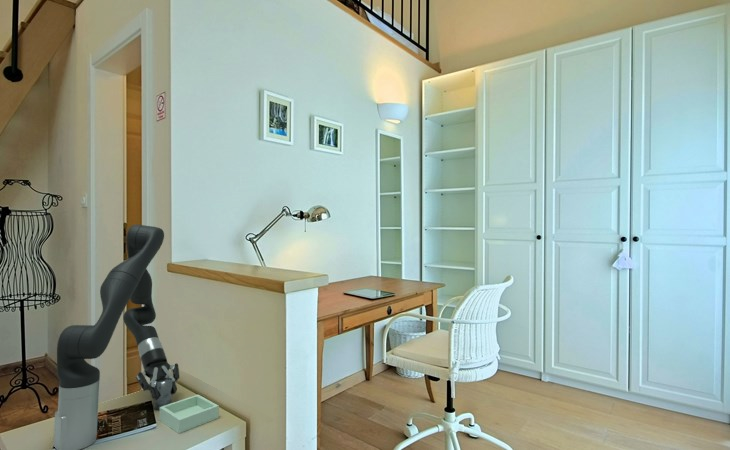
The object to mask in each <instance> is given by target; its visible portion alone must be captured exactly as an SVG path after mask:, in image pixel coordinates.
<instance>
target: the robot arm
mask: <svg viewBox="0 0 730 450" xmlns="http://www.w3.org/2000/svg"><path fill="white" fill-rule="evenodd" d="M164 239H165V232H164V230H163V229H162V228H160V227H157V226H150V225H143V224H132V225H130V227H129V228H128V230H127V232H126V239H125V240H126V251H127V259H126V260H124V261H122V262H120V263H118V264H117V265H116V266H114V267H113V268H112V269H111V270H110V271H109V272H108V274H107V276H106V277H105V278H104V280H103V282H102V284H101V286H100V289H99V295H100V301H101V307H102V310H101V314H100V316H99V317H98V320H97V321H96V323H95V324H94V325H89V324H88V325H87V324H86V325H83V324H82V325H81V324H72V325H69V326H67V327H65V328H64V329H63V330H62V331H61V333H60V334H59V337H58V340H57V344H56V345H57V346H56V375H57V376H56V377H57V378H58V382H59V384H58V403H57V411H55V412H54V426H53V444H52V446H53V448H54V447H55V448H56V449H57V450H82V449H85V448H87V447H90V446H91V445H92V444H94V443H95V442H96V440H97V436H98V435H97V433H98V416H99V413H98V412H99V401H100V400H99V397H100V396H99V395H100V379H101V378H100V377H101V372H100V369H99V368H98V367H96V366H94V365H92V364H90V363H88V362H87V361H86V360H93V359H94V360H95V359H98V358H100V356H102V355H103V354H104V352H105V351H106V349H107V347H108V346H109V344H110V341H111V339H112V336H113V334H114V332H115V330H116V327H117V325H118V323H119V320H120V319H121V316H122V314H123V312H124V310H125V308H126V306H127V305H128V303H129V301H130V302H131V303H132V304H134V305H144V306H140V307H139V306H138V307H134V308H129V309H126V311H125V312H124V314H123V318H122V319H123V323H124V324H125V327H127V329H128V330H129V332H131V333H132V335H133V338H134V339H135V342H136V345H137V348H138V355H139V358H140V361H141V365H142V368H143V370H144V371H142V372H138V373H137V375H136V377H135V379H136V380H137V383H138V384H139V385H140V388H141V389H142V391H144V392H145V391H149V392H150V396H151V397H152V399H153V400H154V401H155V400H157V399H158V398H159V394H158V391H157V388H156V387H155V382H156V380H158V379H161V378H172V396H173V395H176V393H177V391H178V388H177V384H176V382H178V380H179V379H180V370H179V369H180V368H179V364H178V363H175V364H170V363H168V357H167V356H166V352H165V351H164V347H163V345H162V341H161V340H160V338H159V335H158V333H157V330H156V328H155V327H154V326H153V325H150V324H152V323H153V322H154V321H155V319H156V317H157V314H156V311H155V310H156V309H155V307H154V304H153V295H152V294H153V281H152V279H153V278H152V277H151V273H149V270H148V266H150V265H149V264H150V263H151V262H152V260H153V259H154V257H155V256H156V255H157V254H158V252H159V251H160V249H161V247H162V245H163V243H164V241H165V240H164ZM170 371H171V372H172V373H171V372H170ZM146 377H147V378H149V382H148V380H147V379H146ZM55 448H54V449H55ZM56 449H55V450H56Z"/></svg>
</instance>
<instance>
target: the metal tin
mask: <svg viewBox="0 0 730 450" xmlns="http://www.w3.org/2000/svg"><path fill="white" fill-rule="evenodd" d="M155 387H156V388H157V391H158V394H159V398H158V399H157V400H155V399H154V405H153V407H154V409H155V410H156V411H160V407H162V406H165V405H168V404H171V403H172V399H173V398H172V396H173V395H172V378H161V379H158V380H156V382H155Z"/></svg>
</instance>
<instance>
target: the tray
mask: <svg viewBox="0 0 730 450" xmlns="http://www.w3.org/2000/svg"><path fill="white" fill-rule="evenodd" d="M219 409H220V405H219V404H216V403H214V402H213V401H211V400H209V399H207V398H205V397H203V396H202V395H200V394H195V395H193V396H192V395H191V396H190V397H187V398H183V399H180V400H178V401H177V400H176V401H175V402H171V404H168V405H165V406H162V407H160V410H158V411H159V415H158V420H159V421H160V422H162V423H163V424H164V425H166V426H167V427H169V428H170V429H172V430H173V431H174V432H176V433H177V434H182V433H185V432H186V431H189V430H192V429H194V428H196V427H199V426H201V425H203V424H204V425H205V424H206V423H209V422H211V421H214V420H217V419H219V412H220V411H219Z"/></svg>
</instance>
